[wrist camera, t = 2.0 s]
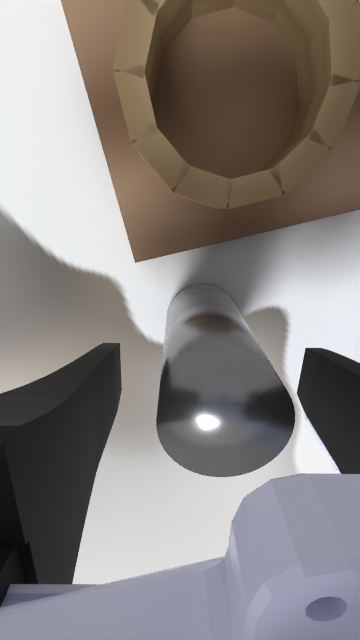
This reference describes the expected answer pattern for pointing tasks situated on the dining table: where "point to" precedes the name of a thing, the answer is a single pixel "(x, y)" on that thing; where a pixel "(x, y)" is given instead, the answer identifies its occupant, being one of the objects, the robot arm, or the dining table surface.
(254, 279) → the dining table surface
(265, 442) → the steel pin
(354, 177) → the socket block
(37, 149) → the dining table surface
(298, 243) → the dining table surface
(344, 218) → the dining table surface
